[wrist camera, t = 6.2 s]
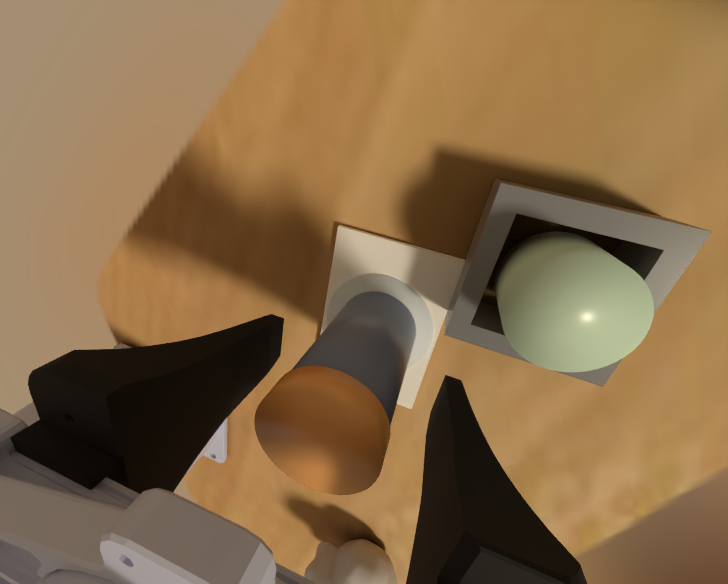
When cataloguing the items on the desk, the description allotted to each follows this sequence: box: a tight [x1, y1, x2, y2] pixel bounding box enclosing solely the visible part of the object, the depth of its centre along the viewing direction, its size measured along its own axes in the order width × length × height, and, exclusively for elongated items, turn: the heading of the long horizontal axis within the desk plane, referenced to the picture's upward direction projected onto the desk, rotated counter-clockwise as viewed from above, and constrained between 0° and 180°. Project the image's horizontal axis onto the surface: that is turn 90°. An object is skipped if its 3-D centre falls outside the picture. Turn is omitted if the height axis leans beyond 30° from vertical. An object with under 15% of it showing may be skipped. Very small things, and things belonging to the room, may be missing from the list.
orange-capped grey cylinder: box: [254, 291, 416, 495], centre depth 13 cm, size 4×4×8 cm
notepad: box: [320, 225, 465, 409], centre depth 16 cm, size 6×9×1 cm, turn 168°
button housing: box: [444, 178, 712, 387], centre depth 12 cm, size 6×6×3 cm
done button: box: [494, 231, 654, 372], centre depth 11 cm, size 4×4×3 cm
